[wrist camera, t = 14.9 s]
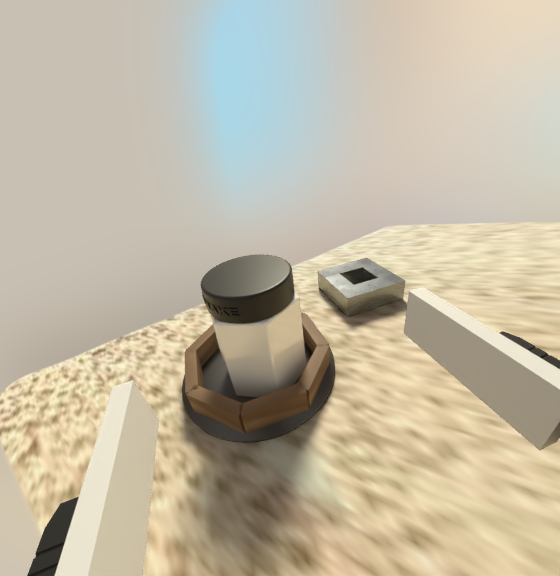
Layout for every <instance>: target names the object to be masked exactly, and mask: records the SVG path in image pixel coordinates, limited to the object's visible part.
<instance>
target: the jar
mask: <svg viewBox="0 0 560 576" xmlns="http://www.w3.org/2000/svg"><path fill="white" fill-rule="evenodd" d="M201 289H202V294H203V299H204V302H205V304H206V306H207V308H208V311H209V313H210V314H211V317H212V322H213V326H214V329H215V332H216V337H217V341H218V345H219V348H220V351H221V354H222V357H223V359H224V361H225V363H226V366H227V369H228V372H229V375H230V378H231V381H232V384H233V387H234V390H235V393H236V395H237V396H245V397H261V396H264V395H267V394H269V393H272V392H275V391H278V390H280V389H283V388H286V387H289V386H291V385H293V384H294V383H295V382H296V381H297V380H298V378H299V377H300V376H301V375H302V374H303V372H304V370H305V368H306V366H307V365H306V356H305V346H304V337H303V328H302V318H301V309H300V299H299V297H298V296H297V294H296V293H295V292H294V283H293V274H292V268H291V265H290V264H289V263H288V262H287V261H286V260H284V259H282V258H280V257H277V256H272V255H249V256H243V257H239V258H235V259H232V260H229V261H226V262H223V263H221V264H219V265H217V266H216V267H214V268H212V269H211V270H210V271H209V272H208V273H206V275H205V276H204V277H203V279H202V281H201Z"/></svg>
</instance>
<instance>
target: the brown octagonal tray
mask: <svg viewBox="0 0 560 576" xmlns="http://www.w3.org/2000/svg"><path fill="white" fill-rule="evenodd" d="M301 318H302V328H303V337H304V346H305V356H306V365H307V366H306V368H305V370H304V372H303V374H302V375H301V376H300V377H299V378H298V380H297V381H296V382H295V383H294V384H293V385H291V386H289V387H286V388H283V389H280V390H278V391H275V392H272V393H269V394H267V395H264V396H261V397H245V396H237V395H236V393H235V390H234V387H233V384H232V381H231V378H230V375H229V372H228V369H227V366H226V363H225V361H224V359H223V357H222V354H221V351H220V348H219V345H218V341H217V337H216V332H215V329H214V326H213V325H212V326H211V327H210V328H209V329H208V330H206V331H205V332H204V333H203V334H202V335H201V336H200V337H199V338H198V339H197V340H196V341H195V342H194V343H193V344H192V345H191V346H190V347H189V348H188V349H187V350H186V352H185V376H184V380H183V387H182V393H183V400H184V404H185V407H186V409H187V411H188V413H189V415H190V417H191V418H192V419H193V420H194V422H195V423H196V424H197V425H198V426H199V427H200V428H202V429H203V430H204V431H206V432H208V433H209V434H211V435H213V436H216V437H218V438H221V439H224V440H229V441H234V442H258V441H263V440H268V439H272V438H275V437H278V436H281V435H284V434H286V433H288V432H290V431H292V430H294V429H296V428H297V427H299V426H300V425H302V424H303V423H305V422H306V421H307V420H308V419H310V418H311V417H312V416H313V415H314V414H315V413H316V412H317V411H318V410H319V409H320V408H321V406H322V405H323V403H324V402H325V400H326V399H327V397H328V395H329V393H330V391H331V388H332V385H333V382H334V375H335V365H334V358H333V354H332V352H331V349H330V347H329V343H328V342H327V341H326V339H325V338H324V337H323V335H322V334H321V333H320V331H319V330H318V329H317V327H316V326H315V325H314V323H313V322H312V321H311V319H310V318H309V317H308V315H307V314H306V315H305V313H301Z"/></svg>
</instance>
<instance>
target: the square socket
mask: <svg viewBox="0 0 560 576" xmlns="http://www.w3.org/2000/svg"><path fill="white" fill-rule="evenodd" d="M318 284H319V288H320V289H321V290H322V291H323V292H324V293H325V294H326V295H327V296H328V297H329V298H330V299H331V300H332V301H333V302H334V303H335V304H336V305H337V307H338V308H339V309H340V310H341V311H342V312H343V313H344V314H345V315H346V316H347V317H348V316H351V315H354V314H357V313H360V312H363V311H366V310H370V309H373V308H376V307H379V306H382V305H385V304H388V303H391V302H394V301H398V300H401V299H403V294H404V287H405V280H403V279H402V278H400V277H398V276H397V275H395V274H393V273H392V272H390V271H388V270H386V269H385V268H383V267H381V266H380V265H378V264H376V263H375V262H373V261H371V260H370V259H368V258H364V259H361V260H357V261H354V262H350V263H346V264H343V265H339V266H335V267H332V268H328V269H324V270H321V271H318Z"/></svg>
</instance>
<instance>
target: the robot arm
mask: <svg viewBox="0 0 560 576" xmlns="http://www.w3.org/2000/svg"><path fill="white" fill-rule="evenodd" d="M404 334H405V335H406V336H408V337H409V338H410V339H411V340H412V341H413V342H415V343H416V344H417V345H418V346H419V347H420V348H422V349H423V350H424V351H425V352H426V353H427V354H428V355H430V356H431V357H432V358H433V359H434V360H435V361H437V362H438V363H439V364H440V365H441V366H442V367H444V368H445V369H446V370H447V371H448V372H449V373H450V374H452V375H453V376H454V377H455V378H456V379H457V380H459V381H460V382H461V383H462V384H463V385H464V386H466V387H467V388H468V389H469V390H470V391H471V392H473V393H474V394H475V395H476V396H477V397H478V398H479V399H481V400H482V401H483V402H484V403H485V404H486V405H488V406H489V407H490V408H491V409H492V410H493V411H495V412H496V413H497V414H498V415H499V416H500V417H501V418H503V419H504V420H505V421H506V422H507V423H508V424H510V425H511V426H512V427H513V428H514V429H515V430H517V431H518V432H519V433H520V434H521V435H522V436H523V437H525V438H526V439H527V440H528V441H529V442H530V443H532V444H533V445H534V446H535V447H536V448H537V449H539V450H541V449H543V448H545V447H547V446H549V445H551V444H553V443H555V442H557V440H558V439H559V438H560V360H558V359H556V358H555V357H553V356H549V355H548V353H546V352H544V351H542V350H541V349H539V348H535V346H534V345H532V344H530V343H528V342H527V341H525V340H523V339H521V338H520V337H517V336H514V335H511V334H509V333H506V332H500V333H498V332H496V331H495V330H493V329H491V328H490V327H488V326H486V325H485V324H483V323H481V322H480V321H478V320H476V319H475V318H473V317H471V316H470V315H468V314H466V313H465V312H463V311H461V310H460V309H458V308H456V307H455V306H453V305H451V304H450V303H448V302H446V301H445V300H443V299H441V298H440V297H438V296H436V295H435V294H433V293H431V292H430V291H428V290H426V289H425V288H423V287H420V288H417V289H414V290H411V291H409V296H408V304H407V311H406V319H405V327H404ZM158 425H159V420H158V418H157V417H156V415H155V413H154V412H153V410H152V409H151V407H150V406H149V404H148V403H147V401H146V400H145V398H144V396H143V395H142V393H141V392H140V390H139V389H138V387H137V386H136V384H135V382H134V381H133V380H132V381H129V382H126V383H123V384H120V385H117V386H114V387H113V388H112V391H111V395H110V398H109V401H108V404H107V408H106V411H105V414H104V417H103V421H102V424H101V427H100V430H99V434H98V437H97V440H96V443H95V447H94V450H93V453H92V456H91V460H90V463H89V466H88V469H87V472H86V476H85V479H84V482H83V485H82V489H81V492H80V495H79V497H77V498H74V499H72V500H69V501H66V502H64V503H61V504H60V506H59V507H58V509H57V510H56V512H55V513H54V515H53V516H52V518H51V520H50V521H49V523H48V524H47V526H46V527H45V530H44V532H43V535H42V538H41V540H40V543H39V546H38V548H37V551H36V558H35V559H33V562H32V565H31V567H30V570H29V573H28V575H27V576H143V571H144V561H145V552H146V542H147V532H148V522H149V513H150V503H151V493H152V483H153V474H154V464H155V454H156V445H157V435H158Z"/></svg>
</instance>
